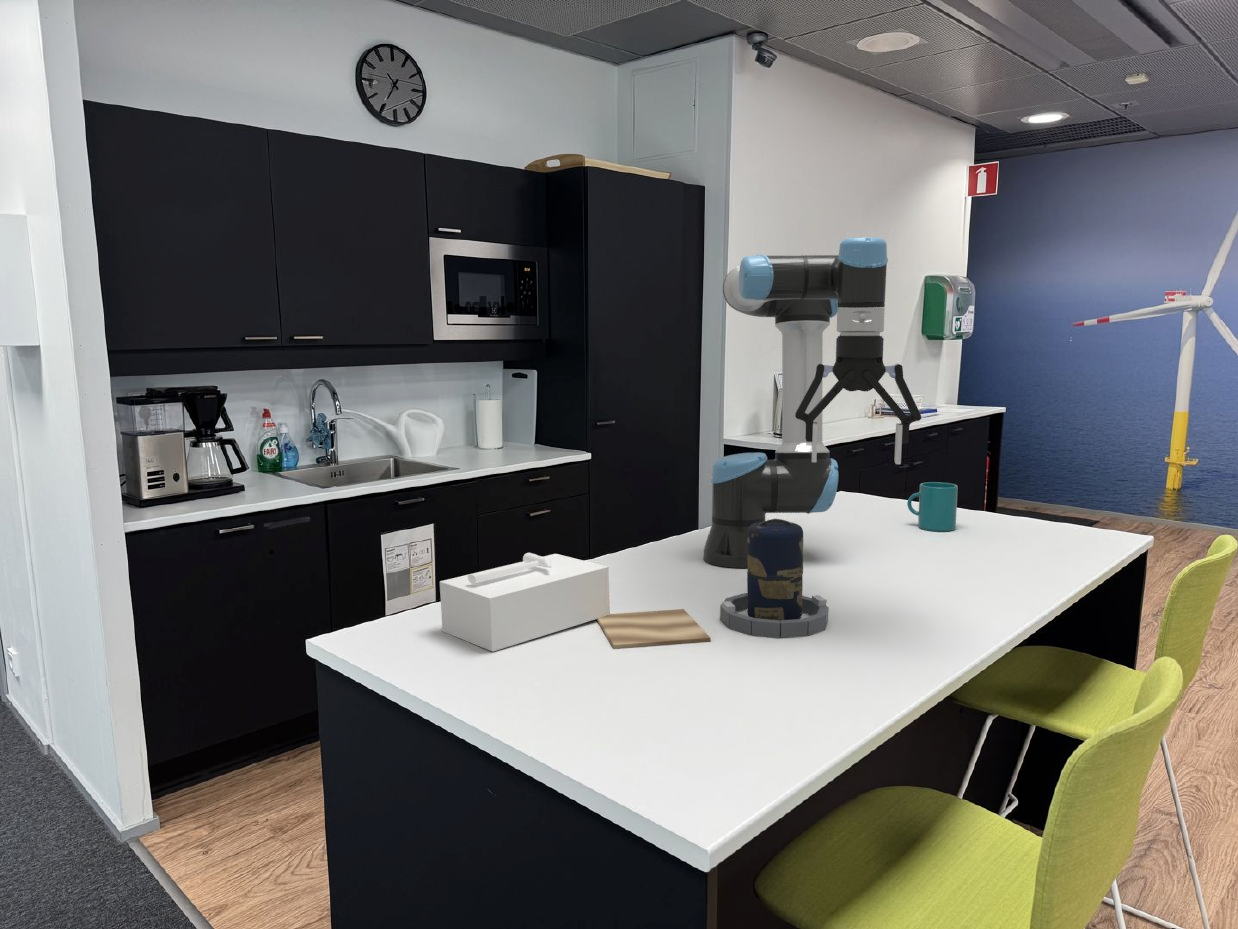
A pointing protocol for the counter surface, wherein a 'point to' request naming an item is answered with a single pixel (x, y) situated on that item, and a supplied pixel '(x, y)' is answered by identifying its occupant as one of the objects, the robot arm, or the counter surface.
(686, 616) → the mat
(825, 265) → the robot arm
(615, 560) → the counter surface
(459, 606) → the tissue box
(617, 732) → the counter surface
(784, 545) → the canister
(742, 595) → the collar
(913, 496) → the cup
